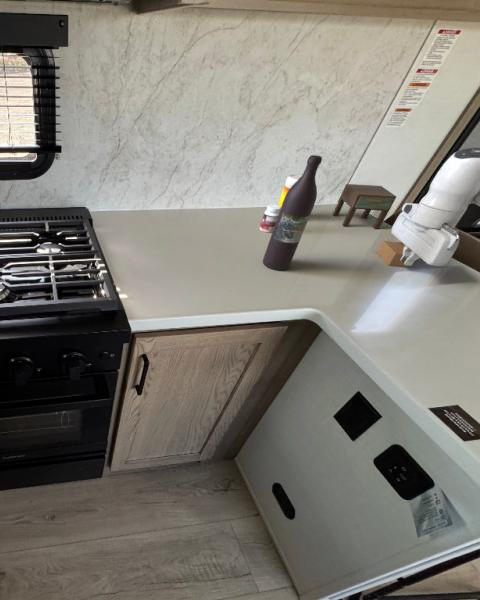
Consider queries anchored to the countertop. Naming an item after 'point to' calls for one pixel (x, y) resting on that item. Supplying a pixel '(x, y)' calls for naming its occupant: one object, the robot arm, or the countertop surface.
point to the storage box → (392, 253)
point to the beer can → (288, 186)
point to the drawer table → (365, 202)
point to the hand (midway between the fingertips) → (405, 263)
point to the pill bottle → (270, 218)
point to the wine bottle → (293, 218)
